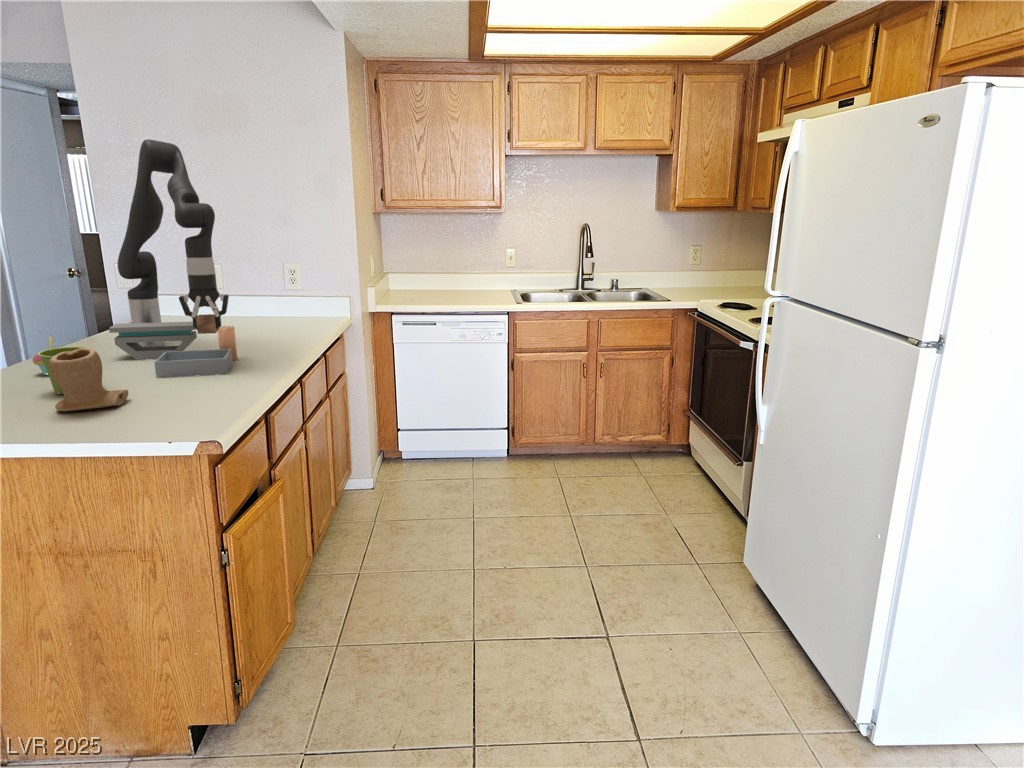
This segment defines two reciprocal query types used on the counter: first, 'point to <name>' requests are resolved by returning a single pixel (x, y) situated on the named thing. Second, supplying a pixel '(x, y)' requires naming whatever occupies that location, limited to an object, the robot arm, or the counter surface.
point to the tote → (193, 363)
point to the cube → (206, 324)
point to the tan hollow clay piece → (82, 381)
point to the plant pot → (46, 357)
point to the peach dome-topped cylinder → (228, 340)
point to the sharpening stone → (152, 337)
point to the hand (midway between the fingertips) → (207, 328)
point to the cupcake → (38, 360)
